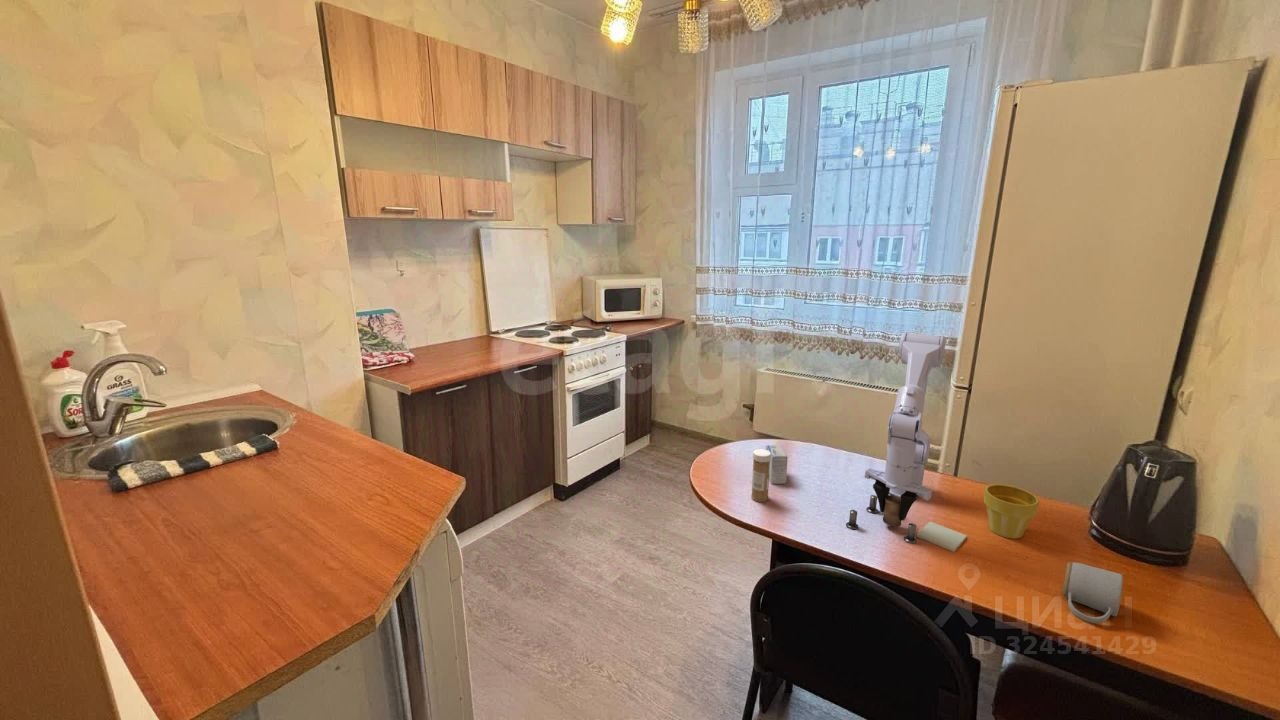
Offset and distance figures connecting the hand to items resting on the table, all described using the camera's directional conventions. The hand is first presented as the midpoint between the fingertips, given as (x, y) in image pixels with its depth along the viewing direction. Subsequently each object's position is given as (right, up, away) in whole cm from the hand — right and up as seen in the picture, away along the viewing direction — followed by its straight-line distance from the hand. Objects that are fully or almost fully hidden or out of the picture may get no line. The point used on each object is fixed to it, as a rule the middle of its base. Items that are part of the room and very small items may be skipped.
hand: (892, 514), depth 122 cm
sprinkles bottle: (-29, 0, +14) cm, 32 cm away
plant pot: (+26, -4, -1) cm, 26 cm away
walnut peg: (0, -2, 0) cm, 2 cm away
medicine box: (-22, +3, +26) cm, 34 cm away
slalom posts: (-1, -3, +1) cm, 3 cm away
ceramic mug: (+25, -10, -25) cm, 37 cm away
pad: (+10, -4, -3) cm, 11 cm away
